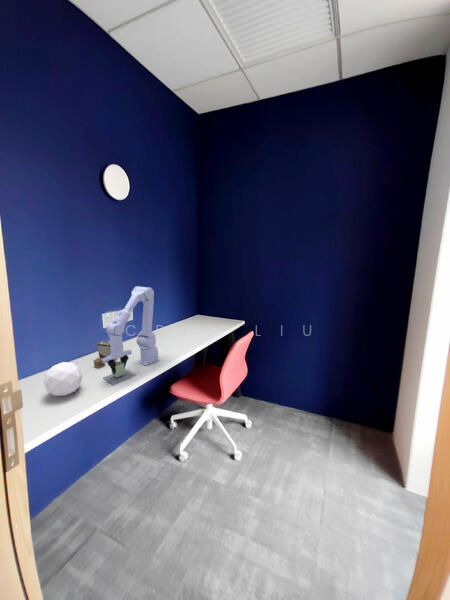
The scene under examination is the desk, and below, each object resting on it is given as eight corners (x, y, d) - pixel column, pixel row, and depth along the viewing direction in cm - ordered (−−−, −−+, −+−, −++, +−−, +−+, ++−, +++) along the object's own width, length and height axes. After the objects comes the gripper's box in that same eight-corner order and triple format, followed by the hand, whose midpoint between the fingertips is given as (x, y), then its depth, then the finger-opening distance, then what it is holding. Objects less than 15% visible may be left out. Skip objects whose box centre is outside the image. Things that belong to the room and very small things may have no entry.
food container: (122, 357, 154) (120, 341, 151) (115, 361, 148) (113, 345, 146) (105, 354, 157) (103, 339, 155) (97, 358, 151) (96, 342, 149)
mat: (125, 369, 138) (125, 369, 138) (135, 375, 131) (135, 375, 131) (102, 378, 129) (102, 377, 128) (112, 385, 122) (112, 384, 122)
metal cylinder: (114, 361, 147) (114, 355, 147) (116, 364, 144) (116, 357, 143) (107, 363, 145) (107, 356, 144) (109, 365, 142) (108, 359, 141)
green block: (120, 371, 133) (119, 360, 132) (124, 374, 130) (124, 363, 129) (112, 374, 130) (111, 363, 128) (116, 377, 127) (115, 366, 126)
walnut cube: (100, 364, 144) (100, 357, 143) (105, 366, 142) (104, 359, 141) (94, 367, 141) (93, 360, 140) (98, 368, 139) (98, 362, 138)
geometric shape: (56, 405, 115) (34, 380, 113) (86, 381, 126) (65, 358, 124) (61, 403, 105) (36, 376, 103) (93, 377, 115) (70, 352, 113)
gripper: (126, 340, 134) (127, 364, 137) (98, 348, 124) (100, 374, 126) (133, 343, 130) (134, 368, 133) (105, 352, 119) (107, 378, 122)
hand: (118, 371), depth 129 cm, fingers closed on green block, 4 cm apart
